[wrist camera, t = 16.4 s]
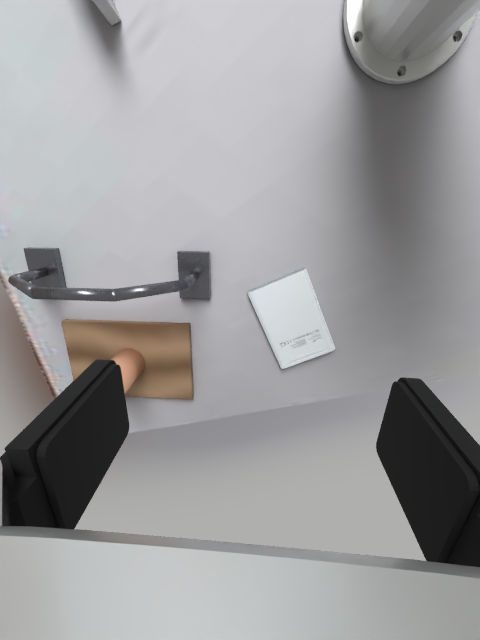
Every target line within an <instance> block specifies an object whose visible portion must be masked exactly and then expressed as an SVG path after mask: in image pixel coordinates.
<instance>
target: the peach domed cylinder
mask: <svg viewBox="0 0 480 640" xmlns="http://www.w3.org/2000/svg"><path fill="white" fill-rule="evenodd" d="M110 360H114V361H115V362H116V364H118V365H120V367H121V373H122V380H123V386H124V393H126V392H127V391H128V389H129V388H130V387H131V385H132V384H133V383H134V381H135V380H136V379H137V377H138V376H139V375H140V374H141V372H142V371H143V369H144V367H145V360H144V357H143V356H142V354H141V353H140V352H138V351H137V350H135V349H132V348H124V349H122V350H120V351H119V352H118V353H117V354H116V355H115V356H114V357H112V358H111V359H110Z"/></svg>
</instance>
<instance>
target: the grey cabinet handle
mask: <svg viewBox="0 0 480 640" xmlns="http://www.w3.org/2000/svg"><path fill="white" fill-rule="evenodd" d="M24 252H25V257H26V261H27V265H28V269H29V271H27V272H23V273H20V274H16V275H12V276H10V277H9V279H8V281H9V283H10V284H11V285H13V286H14V287H16V288H17V289H19V290H20V291H22V292H23V293H25V294H26V295H28V296H29V297H31V298H33V299H51V300H85V301H120V300H127V299H133V298H140V297H146V296H152V295H159V294H165V293H172V292H178V291H180V298H208V299H210V297H211V279H210V252H202V251H178V252H177V254H178V271H179V280H178V281H171V282H163V283H156V284H148V285H141V286H133V287H126V288H118V289H91V288H66V283H65V278H64V273H63V268H62V263H61V257H60V252H59V248H24ZM30 281H31V282H32V284H31V283H29V282H30Z"/></svg>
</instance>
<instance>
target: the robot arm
mask: <svg viewBox="0 0 480 640" xmlns="http://www.w3.org/2000/svg"><path fill="white" fill-rule="evenodd" d="M479 10H480V0H345V2H344V11H343V22H344V33H345V37H346V42H347V45H348V48H349V50H350V53H351V55H352V57H353V58H354V60H355V62H356V63H357V65H358V66H359V67H360V68H361V69H362V70H363V71H364V72H365V73H366V74H367V75H369V76H370V77H372V78H374V79H375V80H377V81H381V82H384V83H387V84H404V83H410V82H413V81H416V80H418V79H421V78H423V77H425V76H427V75H428V74H430V73H432V72H433V71H435V70H436V69H437V68H438V67H440V66H441V65H442V64H444V63H445V62H446V61H447V60H448V59H449V58H450V57H451V56H452V55H453V54H454V53H455V52H456V51H457V49H458V48H459V47H460V45H461V44H462V43H463V41H464V40H465V38H466V36H467V35H468V33H469V31H470V29H471V27H472V25H473V23H474V21H475V18H476V16H477V13H478V11H479ZM354 39H357V40H358V42H355V40H354ZM453 39H454V40H453ZM397 72H399V73H400V76H398V74H397ZM128 431H129V421H128V414H127V407H126V400H125V393H124V386H123V380H122V373H121V367H120V365H118V364H116V362H115V361H114V360H103V359H96V360H95V361H94V362H93V363H92V364H91V365H90V366H88V367H87V368H86V369H85V370H84V371H83V372H82V373H81V374H80V375H79V376H78V377H77V378H76V379H75V380H74V381H73V382H72V383H71V384H70V385H69V386H68V387H67V388H66V389H65V390H64V391H63V392H62V393H61V394H60V395H59V396H58V397H57V398H56V399H55V400H54V401H53V402H52V403H50V405H48V406H47V407H46V408H45V409H44V410H43V411H42V412H41V413H40V414H39V415H38V416H37V417H36V418H35V419H34V420H33V421H32V422H31V423H30V424H29V425H28V426H27V427H26V428H25V429H24V430H23V431H22V432H21V433H20V434H19V435H18V436H17V437H16V438H15V439H14V440H13V441H12V442H10V443H9V444H8V445H7V446H6V448H5V451H6V452H5V453H4V454H3V455H2V456H1V457H0V640H480V445H479V444H478V443H477V442H476V441H475V440H474V439H473V437H471V435H470V434H469V433H468V432H467V431H466V430H465V428H464V427H463V426H462V425H461V424H460V423H459V422H458V421H457V419H456V418H455V417H454V416H453V415H452V414H451V413H450V412H449V410H448V409H447V408H446V407H445V406H444V405H443V404H442V403H441V402H440V400H439V399H438V398H437V397H436V396H435V395H434V393H433V392H432V391H431V390H430V389H429V388H428V387H427V386H426V384H425V383H424V382H423V381H422V380H421V379H416V378H400V379H399V380H398V382H394V383H393V385H392V388H391V391H390V395H389V399H388V403H387V406H386V410H385V413H384V418H383V421H382V424H381V428H380V432H379V436H378V439H377V443H376V448H377V453H378V455H379V458H380V460H381V462H382V465H383V467H384V469H385V471H386V473H387V475H388V477H389V480H390V482H391V484H392V486H393V489H394V491H395V493H396V495H397V497H398V500H399V502H400V504H401V506H402V508H403V511H404V513H405V515H406V517H407V519H408V521H409V523H410V526H411V528H412V530H413V532H414V534H415V537H416V539H417V541H418V543H419V545H420V548H421V550H422V552H423V554H424V557H425V558H426V560H427V561H420V560H411V559H400V558H390V557H380V556H369V555H359V554H349V553H338V552H328V551H318V550H307V549H295V548H285V547H274V546H263V545H252V544H241V543H230V542H219V541H208V540H197V539H186V538H174V537H162V536H149V535H138V534H126V533H114V532H103V531H91V530H75V529H74V528H75V527H76V525H77V523H78V521H79V520H80V518H81V516H82V514H83V513H84V511H85V509H86V507H87V505H88V504H89V502H90V500H91V498H92V497H93V495H94V493H95V491H96V490H97V488H98V486H99V484H100V483H101V481H102V479H103V477H104V475H105V474H106V472H107V470H108V468H109V467H110V465H111V463H112V461H113V459H114V458H115V456H116V454H117V452H118V451H119V449H120V447H121V445H122V444H123V442H124V440H125V438H126V436H127V434H128Z"/></svg>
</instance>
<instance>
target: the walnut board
mask: <svg viewBox="0 0 480 640" xmlns="http://www.w3.org/2000/svg"><path fill="white" fill-rule="evenodd" d="M62 327H63V332H64V336H65V341H66V346H67V351H68V356H69V360H70V365H71V370H72V375H73V380H75V379H76V378H77V377H78V376H79V375H80V374H81V373H82V372H83V371H84V370H85V369H86V368H87V367H88V366H90V365H91V364H92V363H93V362H94V361H95V360H96V359H103V360H110V359H111V358H112V357H114V356H115V355H116V354H117V353H118V352H119V351H120V350H122V349H124V348H132V349H135V350H137V351H138V352H140V353H141V354H142V356H143V357H144V360H145V367H144V369H143V371H142V372H141V374H140V375H139V376H138V377H137V379H136V380H135V381H134V383H133V384H132V385H131V387H130V388H129V389H128V391H127V392H126V393H125V396H128V397H153V398H178V399H192V398H193V373H192V351H191V329H190V323H167V322H135V321H102V320H70V319H65V320H64V321H62Z"/></svg>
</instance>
